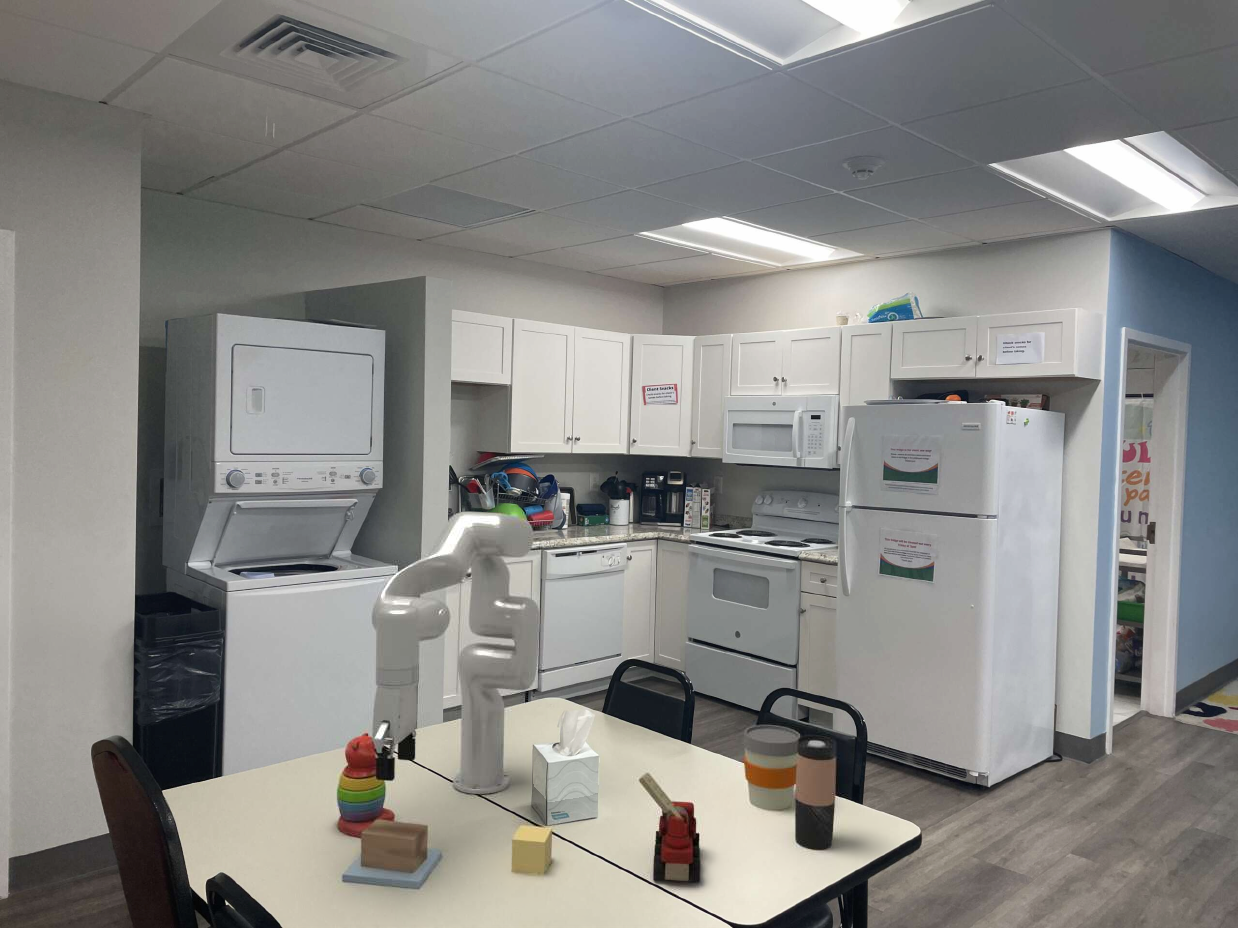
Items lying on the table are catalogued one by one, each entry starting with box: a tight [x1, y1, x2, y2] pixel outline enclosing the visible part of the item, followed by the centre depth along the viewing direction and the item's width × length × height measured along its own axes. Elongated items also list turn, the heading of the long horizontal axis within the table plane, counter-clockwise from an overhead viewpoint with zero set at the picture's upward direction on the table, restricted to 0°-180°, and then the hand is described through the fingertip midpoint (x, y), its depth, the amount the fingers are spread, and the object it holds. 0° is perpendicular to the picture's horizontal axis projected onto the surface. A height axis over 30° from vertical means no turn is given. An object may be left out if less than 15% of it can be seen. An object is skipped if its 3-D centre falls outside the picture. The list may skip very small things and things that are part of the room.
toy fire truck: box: [638, 772, 701, 883], centre depth 167 cm, size 11×16×18 cm
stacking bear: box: [336, 732, 396, 838], centre depth 180 cm, size 11×10×18 cm
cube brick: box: [511, 824, 553, 875], centre depth 166 cm, size 6×6×6 cm
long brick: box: [360, 819, 429, 873], centre depth 163 cm, size 6×10×6 cm, turn 78°
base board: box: [341, 848, 444, 890], centre depth 163 cm, size 12×14×1 cm
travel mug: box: [794, 734, 837, 851], centre depth 178 cm, size 8×8×20 cm
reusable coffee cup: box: [742, 724, 801, 811], centre depth 197 cm, size 13×13×15 cm
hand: (396, 769), depth 163 cm, fingers open, 9 cm apart
